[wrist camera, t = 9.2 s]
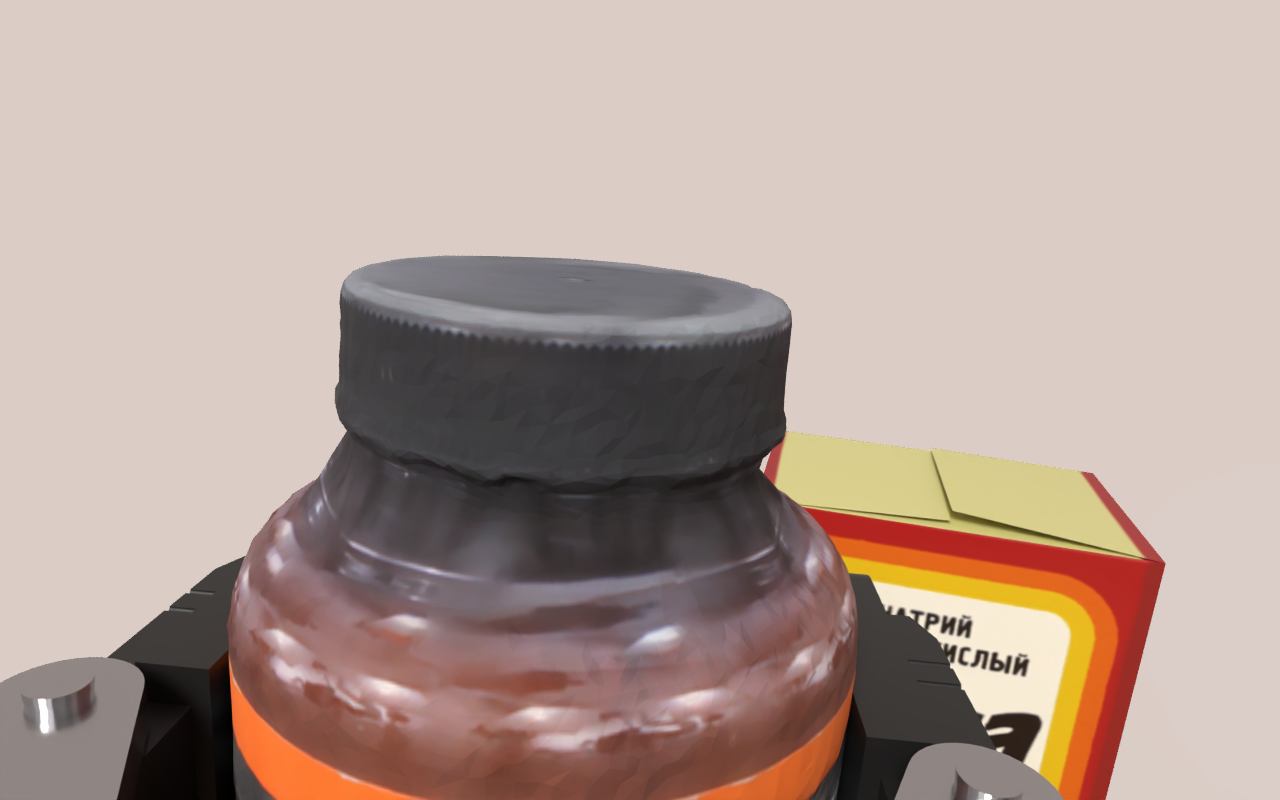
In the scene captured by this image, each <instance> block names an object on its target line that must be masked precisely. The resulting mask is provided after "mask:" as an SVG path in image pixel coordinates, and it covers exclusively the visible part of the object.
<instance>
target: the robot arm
mask: <svg viewBox="0 0 1280 800" xmlns="http://www.w3.org/2000/svg"><path fill="white" fill-rule="evenodd" d="M244 558H245V556H244V557H242V558H240V559H237V560H235V561H233V562H230V563H228V564H226V565H223V566H221V567H219V568H216V569H215V570H214V571H212V572H211V573H210V574H209V575H207V576H206V577H205V578H204V579H203V580H202V581H200V582H199V583H198V584H196V585H195V586H194V587H193V588H192V589H191V591H190V594H188V593H187V594H186V593H185V594H184V595H183V596H182V597H181V598H179V599H178V600H177V601H176V602H174V603H173V604H172V605H171V606H170V609H169V611H163V612H162V613H161V614H160V615H159V616H157V617H156V618H155V619H154V620H153V621H151V622H150V623H149V624H148V625H146V626H145V627H144V628H143V629H142V630H140V631H139V632H138V633H137V634H136V635H134V636H133V637H132V638H131V639H129V640H128V641H127V642H126V643H124V644H123V645H122V646H121V647H120V648H119V649H117V650H116V651H115V652H113V653H112V654H111V655H110V656H109V657H107V658H102V657H96V658H95V657H92V658H91V657H89V658H76V659H70V660H63V661H58V662H54V663H50V664H46V665H42V666H39V667H36V668H32V669H30V670H27V671H25V672H22V673H19V674H17V675H15V676H13V677H11V678H9V679H6V680H5V681H3V682H1V683H0V800H236V790H235V786H234V772H233V766H234V764H233V720H232V700H231V684H230V669H229V634H228V629H227V623H228V619H229V615H230V610H231V598H232V591H233V588H234V584H235V582H236V579H237V576H238V574H239V571H240V568H241V566H242V563H243V561H244ZM849 576H850V580H851V584H852V587H853V591H854V594H855V599H856V607H857V616H858V638H857V654H856V673H855V680H854V686H853V693H852V699H851V706H850V712H849V717H848V722H847V726H846V731H845V744H844V751H843V758H842V766H841V772H840V778H839V785H838V791H837V797H836V800H1064V799H1063V797H1062V796H1061V794H1060V793H1059V792H1058V791H1057V789H1056V788H1055V787H1054V786H1053V785H1052V784H1051V783H1050V782H1049V781H1048V780H1047V779H1046V778H1044V777H1043V776H1042V775H1040V774H1039V773H1038V772H1036V771H1035V770H1034V769H1032V768H1031V767H1029V766H1027V765H1026V764H1024V763H1022V762H1021V761H1019V760H1017V759H1014V758H1012V757H1010V756H1008V755H1006V754H1003V753H1001V752H998V751H997V750H996V748H995V746H994V744H993V742H992V740H991V739H990V737H989V735H988V733H987V731H986V729H985V727H984V726H983V724H982V722H981V720H980V718H979V716H978V714H977V712H976V711H975V709H974V707H973V705H972V703H971V701H970V699H969V698H968V696H967V694H966V692H965V690H962V689H961V685H962V684H961V683H960V681H959V679H958V677H957V675H956V673H955V671H954V669H952V668H950V662H949V660H948V658H947V656H946V655H945V653H944V651H943V649H942V647H941V645H940V643H939V641H938V640H937V638H935V637H934V636H933V635H932V634H931V633H929V632H928V631H927V630H926V629H924V628H923V627H922V626H921V625H920V624H918V623H917V622H916V621H915V620H913V619H912V618H911V617H910V616H902V615H892V614H887V613H886V611H885V608H884V606H883V604H882V602H881V599H880V597H879V595H878V593H877V591H876V588H875V586H874V584H873V582H872V580H871V578H870V576H869V575H864V574H854V573H849Z"/></svg>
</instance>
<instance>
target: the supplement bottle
mask: <svg viewBox="0 0 1280 800" xmlns="http://www.w3.org/2000/svg"><path fill="white" fill-rule="evenodd" d="M340 309H341V310H340V311H341V320H340V330H341V341H340V352H339V382H338V384H337V386H336V388H335V404H336V409H337V413H338V416H339V420H340V421H341V422H342V424H343V425H344V427H345V428H346V430H347V432H346V434H345V435H344V437H343V438H342V440H341V442H340V443H339V445H338V446H337V448H336V449H335V451H334V452H333V454H332V455H331V457H330V459H329V461H328V462H327V464H326V466H325V468H324V469H323V471H322V473H321V474H320V476H319V477H318V478H317V479H316V480H314V481H312V482H311V483H309V484H308V485H306V486H305V487H303V488H301V489H300V490H298V491H297V492H295V493H293V494H292V495H291V497H290V498H289V499H288V500H287V501H286V502H285V503H284V504H283V505H282V506H281V507H280V508H278V509H277V510H276V511H275V512H273V513H272V515H271V517H270V518H269V520H268V521H267V523H266V524H265V525H264V526H263V528H262V529H261V530H260V531H259V533H258V534H257V535H256V536H255V537H254V539H253V540H252V542H251V545H250V548H249V550H248V552H247V554H246V556H245V558H244V561H243V563H242V566H241V568H240V571H239V574H238V576H237V579H236V582H235V584H234V588H233V591H232V598H231V610H230V615H229V619H228V623H227V629H228V634H229V669H230V684H231V700H232V720H233V764H234V766H233V772H234V786H235V790H236V800H836V797H837V791H838V785H839V778H840V772H841V766H842V758H843V751H844V744H845V731H846V726H847V722H848V717H849V712H850V706H851V699H852V693H853V686H854V680H855V673H856V654H857V638H858V616H857V607H856V599H855V594H854V591H853V587H852V584H851V580H850V576H849V573H848V570H847V567H846V565H845V563H844V561H843V559H842V557H841V555H840V553H839V551H838V550H837V548H836V546H835V544H834V543H833V541H832V540H831V538H830V537H829V535H828V534H827V532H826V531H825V530H824V529H823V528H822V527H821V526H820V525H819V524H818V522H817V521H816V520H815V519H814V518H813V517H812V516H811V515H810V514H809V513H808V512H807V511H806V510H805V509H804V508H803V507H802V506H801V505H799V504H798V503H797V502H795V501H794V500H792V499H791V498H790V497H789V496H788V495H787V494H786V493H784V492H782V491H780V490H778V489H777V488H776V487H775V485H774V484H773V483H772V482H771V481H770V480H769V479H768V478H767V477H766V476H765V474H764V473H763V472H762V471H761V470H760V469H759V468H760V465H761V462H762V459H763V458H764V457H765V456H767V455H768V454H769V453H770V451H771V450H772V449H773V448H775V447H776V446H777V445H779V444H780V443H782V441H783V439H784V437H785V432H786V417H785V413H784V395H785V382H786V371H787V362H788V355H789V346H790V336H791V327H792V318H791V310H790V309H789V308H788V306H787V304H786V303H785V302H784V301H783V300H782V299H781V298H779V297H777V296H775V295H773V294H772V293H770V292H767V291H764V290H762V289H757V288H751V287H750V286H748V285H745V284H742V283H739V282H735V281H731V280H727V279H723V278H717V277H712V276H708V275H704V274H700V273H693V272H688V271H681V270H673V269H666V268H658V267H652V266H645V265H639V264H628V263H617V262H604V261H593V260H580V259H562V258H533V257H497V256H434V257H418V258H406V259H397V260H391V261H386V262H381V263H376V264H371V265H367V266H365V267H362V268H359V269H357V270H355V271H353V272H352V273H351V274H350V275H349V276H348V277H347V278H346V279H345V280H344V282H343V285H342V288H341V293H340Z"/></svg>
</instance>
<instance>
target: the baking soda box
mask: <svg viewBox="0 0 1280 800" xmlns="http://www.w3.org/2000/svg"><path fill="white" fill-rule="evenodd" d="M931 450H932V451H927V450H919V449H912V448H905V447H898V446H890V445H883V444H876V443H869V442H861V441H854V440H846V439H840V438H832V437H825V436H818V435H811V434H803V433H796V432H789V431H786V432H785V437H784V439H783V441H782V443H780V444H779V445H777V446H776V447H775V448H773V449H772V450H771V453H770V456H769V459H768V462H767V466H766V469H765V472H764V474H765V476H766V477H767V478H768V479H769V480H770V481H771V482H772V483H773V484H774V485H775V487H776V488H777V489H778V490H780V491H782V492H784V493H786V494H787V495H788V496H789V497H790V498H791V499H792V500H794V501H795V502H797V503H798V504H799V505H801V506H802V507H803V508H804V509H805V510H806V511H807V512H808V513H809V514H810V515H811V516H812V517H813V518H814V519H815V520H816V521H817V522H818V524H819V525H820V526H821V527H822V528H823V529H824V530H825V531H826V532H827V534H828V535H829V537H830V538H831V540H832V541H833V543H834V544H835V546H836V548H837V550H838V551H839V553H840V555H841V557H842V559H843V561H844V563H845V565H846V567H847V570H848V573H854V574H864V575H869V576H870V578H871V580H872V582H873V584H874V586H875V588H876V591H877V593H878V595H879V597H880V599H881V602H882V604H883V606H884V608H885V611H886V613H887V614H892V615H902V616H910V617H911V618H912V619H913V620H915V621H916V622H917V623H918V624H920V625H921V626H922V627H923V628H924V629H926V630H927V631H928V632H929V633H931V634H932V635H933V636H934V637H935V638H937V640H938V641H939V643H940V645H941V647H942V649H943V651H944V653H945V655H946V656H947V658H948V660H949V662H950V668H952V669H954V671H955V673H956V675H957V677H958V679H959V681H960V683H961V684H962V685H961V689H962V690H965V692H966V694H967V696H968V698H969V699H970V701H971V703H972V705H973V707H974V709H975V711H976V712H977V714H978V716H979V718H980V720H981V722H982V724H983V726H984V727H985V729H986V731H987V733H988V735H989V737H990V739H991V740H992V742H993V744H994V746H995V748H996V750H997V751H998V752H1001V753H1003V754H1006V755H1008V756H1010V757H1012V758H1014V759H1017V760H1019V761H1021V762H1022V763H1024V764H1026V765H1027V766H1029V767H1031V768H1032V769H1034V770H1035V771H1036V772H1038V773H1039V774H1040V775H1042V776H1043V777H1044V778H1046V779H1047V780H1048V781H1049V782H1050V783H1051V784H1052V785H1053V786H1054V787H1055V788H1056V789H1057V791H1058V792H1059V793H1060V794H1061V796H1062V797H1063V799H1064V800H1105V799H1106V796H1107V791H1108V787H1109V784H1110V779H1111V776H1112V772H1113V768H1114V764H1115V760H1116V756H1117V752H1118V748H1119V744H1120V740H1121V737H1122V732H1123V729H1124V724H1125V721H1126V717H1127V713H1128V709H1129V705H1130V701H1131V697H1132V693H1133V689H1134V685H1135V682H1136V678H1137V674H1138V670H1139V666H1140V662H1141V658H1142V654H1143V650H1144V646H1145V642H1146V638H1147V634H1148V630H1149V626H1150V622H1151V618H1152V615H1153V611H1154V607H1155V603H1156V599H1157V595H1158V591H1159V587H1160V583H1161V579H1162V575H1163V572H1164V567H1165V562H1164V561H1163V560H1162V559H1161V557H1160V556H1159V555H1158V554H1157V553H1156V551H1155V550H1154V549H1153V547H1152V546H1151V545H1150V544H1149V542H1148V541H1147V540H1146V539H1145V537H1144V536H1143V535H1142V534H1141V532H1140V531H1139V530H1138V529H1137V527H1136V526H1135V525H1134V524H1133V523H1132V521H1131V520H1130V519H1129V518H1128V516H1127V515H1126V514H1125V513H1124V511H1123V510H1122V509H1121V508H1120V506H1119V505H1118V504H1117V503H1116V502H1115V501H1114V499H1113V498H1112V497H1111V495H1110V494H1109V493H1108V492H1107V490H1106V489H1105V488H1104V487H1103V485H1102V484H1101V483H1100V482H1099V481H1098V479H1097V478H1096V477H1095V475H1094V474H1093V473H1087V472H1080V471H1075V470H1068V469H1062V468H1056V467H1049V466H1042V465H1036V464H1029V463H1024V462H1017V461H1011V460H1004V459H998V458H992V457H985V456H979V455H973V454H966V453H960V452H953V451H947V450H941V449H934V448H931Z"/></svg>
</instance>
